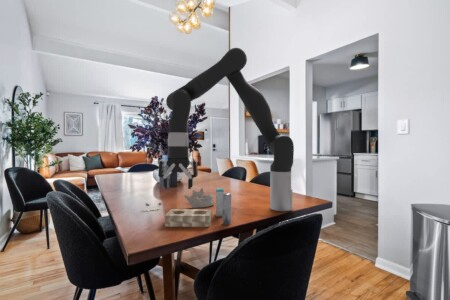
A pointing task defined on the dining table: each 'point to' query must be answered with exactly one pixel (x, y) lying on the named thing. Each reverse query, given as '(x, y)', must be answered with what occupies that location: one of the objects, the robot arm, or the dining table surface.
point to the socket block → (188, 218)
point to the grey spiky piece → (200, 199)
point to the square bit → (219, 201)
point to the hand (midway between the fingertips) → (178, 188)
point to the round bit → (226, 208)
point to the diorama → (157, 208)
